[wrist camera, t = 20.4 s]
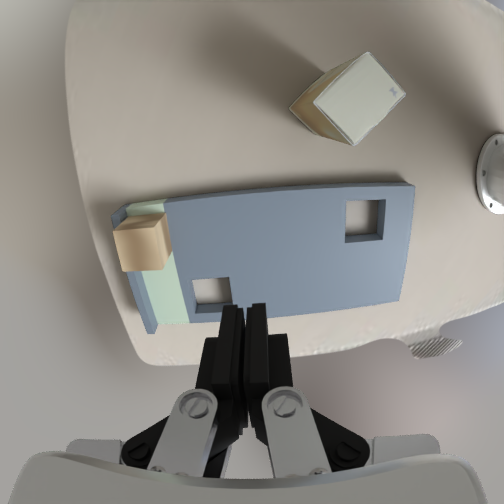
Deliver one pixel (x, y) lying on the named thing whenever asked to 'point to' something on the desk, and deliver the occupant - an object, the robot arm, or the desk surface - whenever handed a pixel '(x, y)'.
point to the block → (143, 242)
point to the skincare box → (348, 100)
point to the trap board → (275, 251)
